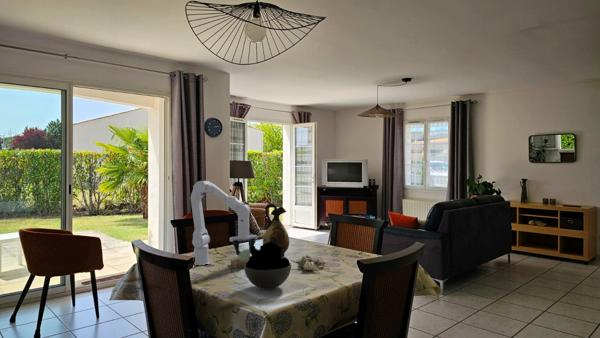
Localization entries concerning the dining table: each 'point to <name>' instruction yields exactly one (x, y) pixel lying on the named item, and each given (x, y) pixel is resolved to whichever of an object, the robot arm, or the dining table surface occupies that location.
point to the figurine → (310, 263)
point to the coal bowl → (267, 266)
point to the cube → (244, 255)
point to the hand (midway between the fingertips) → (243, 254)
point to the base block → (238, 263)
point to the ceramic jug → (276, 229)
